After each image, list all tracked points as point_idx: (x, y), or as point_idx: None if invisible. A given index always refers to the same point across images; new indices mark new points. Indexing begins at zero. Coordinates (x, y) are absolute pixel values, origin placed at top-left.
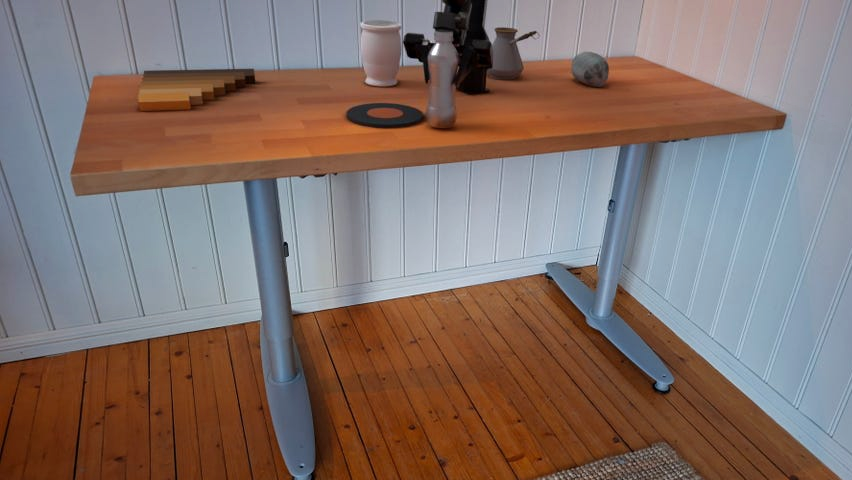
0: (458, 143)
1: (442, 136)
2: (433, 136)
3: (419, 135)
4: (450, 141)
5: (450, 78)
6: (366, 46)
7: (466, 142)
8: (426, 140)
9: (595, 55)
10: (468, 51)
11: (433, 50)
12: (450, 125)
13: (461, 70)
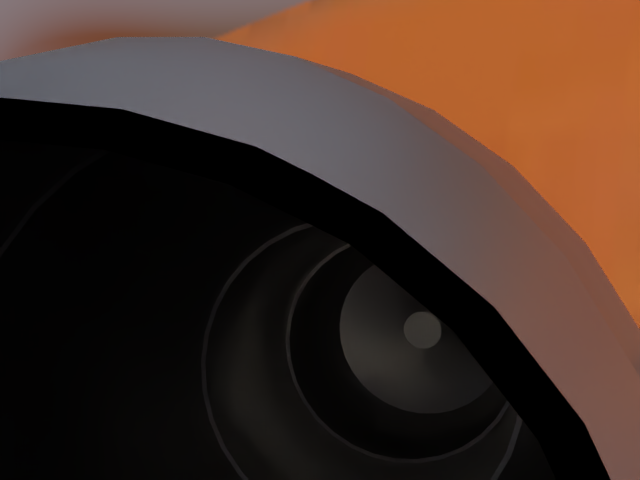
0: (360, 13)
1: None
2: (497, 131)
3: (596, 145)
4: (401, 43)
5: (242, 216)
6: None
7: (312, 36)
8: (555, 46)
9: None
10: None
11: (514, 374)
12: (364, 256)
13: None
